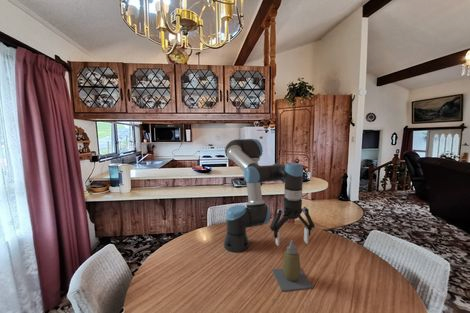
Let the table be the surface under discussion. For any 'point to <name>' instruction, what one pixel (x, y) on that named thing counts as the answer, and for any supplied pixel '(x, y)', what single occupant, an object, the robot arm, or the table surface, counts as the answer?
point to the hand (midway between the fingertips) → (291, 243)
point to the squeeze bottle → (291, 263)
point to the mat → (290, 285)
